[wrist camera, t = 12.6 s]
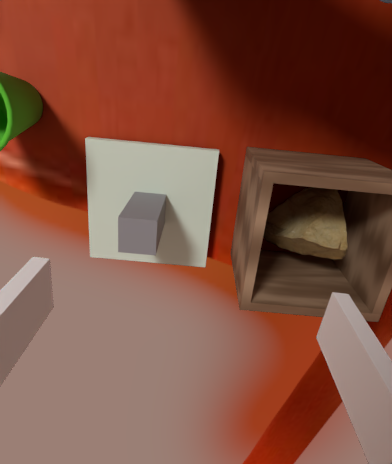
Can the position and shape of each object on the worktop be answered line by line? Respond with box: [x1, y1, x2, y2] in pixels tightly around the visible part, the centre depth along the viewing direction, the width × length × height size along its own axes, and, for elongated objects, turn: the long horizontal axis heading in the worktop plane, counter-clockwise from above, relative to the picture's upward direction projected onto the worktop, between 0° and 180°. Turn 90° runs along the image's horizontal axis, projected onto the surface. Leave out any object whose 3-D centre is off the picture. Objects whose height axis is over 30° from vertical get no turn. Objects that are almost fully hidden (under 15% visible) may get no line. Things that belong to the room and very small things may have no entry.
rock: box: [263, 187, 348, 260], centre depth 42 cm, size 11×9×10 cm
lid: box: [85, 137, 219, 267], centre depth 40 cm, size 16×16×11 cm
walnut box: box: [231, 147, 392, 322], centre depth 39 cm, size 15×15×13 cm
